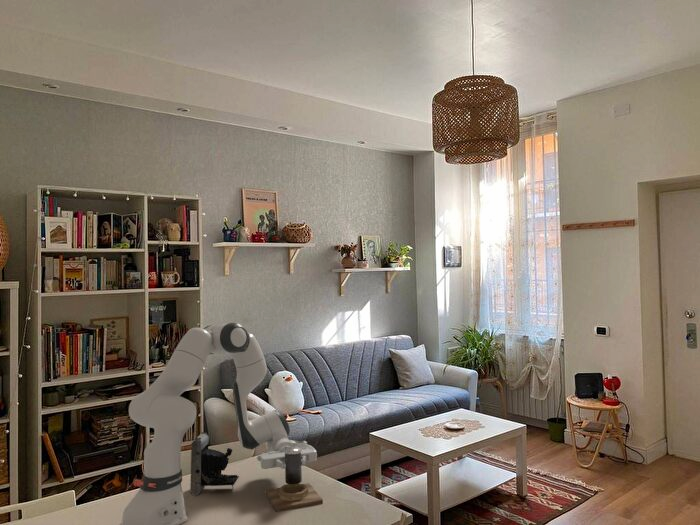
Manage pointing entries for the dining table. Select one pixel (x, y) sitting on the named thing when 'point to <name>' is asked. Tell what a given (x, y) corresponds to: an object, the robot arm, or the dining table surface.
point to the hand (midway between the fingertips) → (293, 464)
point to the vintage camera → (208, 466)
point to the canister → (293, 465)
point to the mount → (293, 496)
